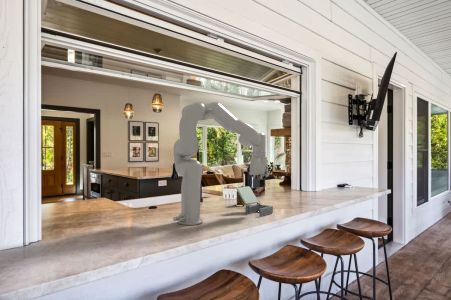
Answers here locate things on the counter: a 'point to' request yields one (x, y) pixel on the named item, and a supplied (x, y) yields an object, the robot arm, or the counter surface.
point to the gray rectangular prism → (257, 183)
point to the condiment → (239, 199)
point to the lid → (247, 195)
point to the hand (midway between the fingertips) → (259, 186)
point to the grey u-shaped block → (259, 209)
